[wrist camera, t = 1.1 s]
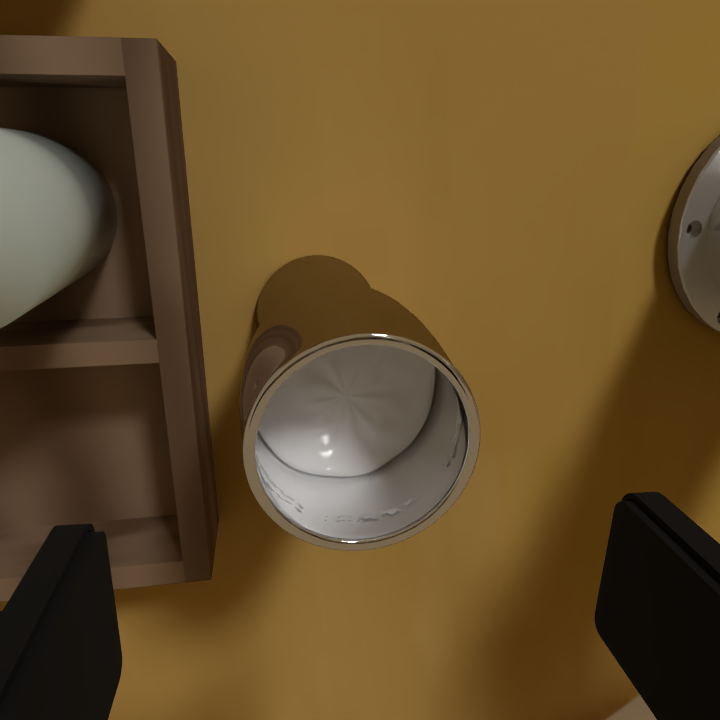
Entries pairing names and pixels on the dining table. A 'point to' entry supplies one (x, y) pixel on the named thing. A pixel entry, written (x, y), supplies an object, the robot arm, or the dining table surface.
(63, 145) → the grey rounded piece
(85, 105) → the carrier
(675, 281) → the robot arm
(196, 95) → the dining table surface
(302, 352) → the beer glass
